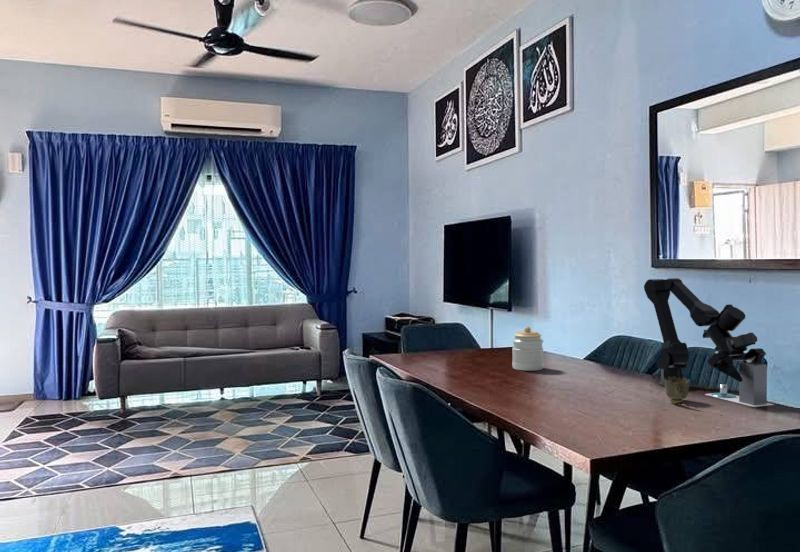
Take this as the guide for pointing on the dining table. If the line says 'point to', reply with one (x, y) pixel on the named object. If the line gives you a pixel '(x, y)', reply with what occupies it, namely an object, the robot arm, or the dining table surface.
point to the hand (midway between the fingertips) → (753, 380)
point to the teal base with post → (723, 392)
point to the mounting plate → (740, 402)
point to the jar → (527, 351)
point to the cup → (676, 389)
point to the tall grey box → (753, 383)
